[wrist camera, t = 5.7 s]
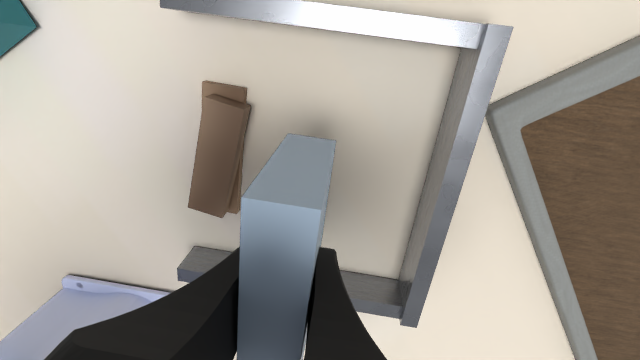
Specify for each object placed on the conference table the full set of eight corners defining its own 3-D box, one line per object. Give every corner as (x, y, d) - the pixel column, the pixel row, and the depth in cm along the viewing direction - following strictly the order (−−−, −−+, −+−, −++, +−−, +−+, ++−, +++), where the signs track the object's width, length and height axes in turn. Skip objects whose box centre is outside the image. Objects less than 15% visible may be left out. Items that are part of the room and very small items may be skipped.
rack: (195, 257, 24) (174, 285, 21) (185, -10, 17) (152, -20, 14) (409, 293, 23) (416, 327, 21) (487, 28, 16) (513, 26, 14)
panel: (274, 299, 17) (234, 421, 12) (288, 133, 14) (241, 197, 8) (312, 306, 17) (290, 431, 12) (336, 140, 14) (321, 210, 8)
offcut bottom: (208, 198, 23) (200, 206, 22) (211, 79, 20) (202, 81, 19) (242, 205, 23) (236, 213, 22) (250, 86, 20) (244, 89, 18)
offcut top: (196, 198, 22) (187, 207, 20) (213, 93, 19) (204, 96, 18) (229, 208, 22) (222, 218, 20) (250, 105, 19) (244, 109, 18)
